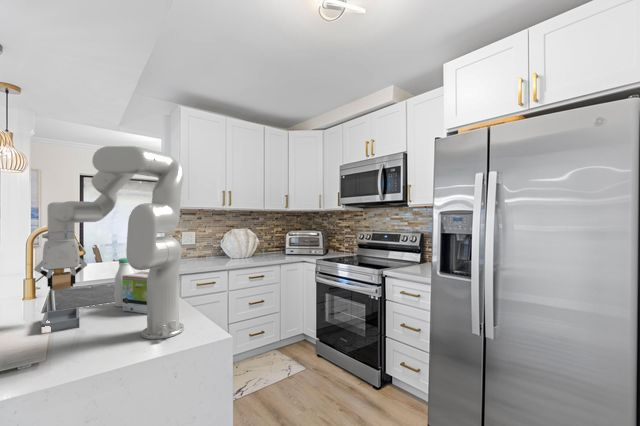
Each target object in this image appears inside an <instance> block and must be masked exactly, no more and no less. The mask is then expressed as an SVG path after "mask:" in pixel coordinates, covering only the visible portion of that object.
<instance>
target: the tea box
mask: <svg viewBox="0 0 640 426" xmlns="http://www.w3.org/2000/svg"><path fill="white" fill-rule="evenodd" d="M148 273H149V271H144V270H141V271H137V272H134V273H133V274H129V275H125V276H123V279H122V283H123V307H122V311H123V312H132V313H139V314H145V315H147V277H148Z"/></svg>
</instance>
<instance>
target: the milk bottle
mask: <svg viewBox="0 0 640 426" xmlns="http://www.w3.org/2000/svg"><path fill="white" fill-rule="evenodd" d="M118 265H119V267H118V270H117V272H116V273H115V276H114V306H115V307H118V308H120V307H122V308H123V283H122V279H123V276H125V275H129V274H133V273H135V272H134V270H133V268H132V267H131V266H130V264H129V263H128V260H127V257H124V258H119V259H118Z"/></svg>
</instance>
